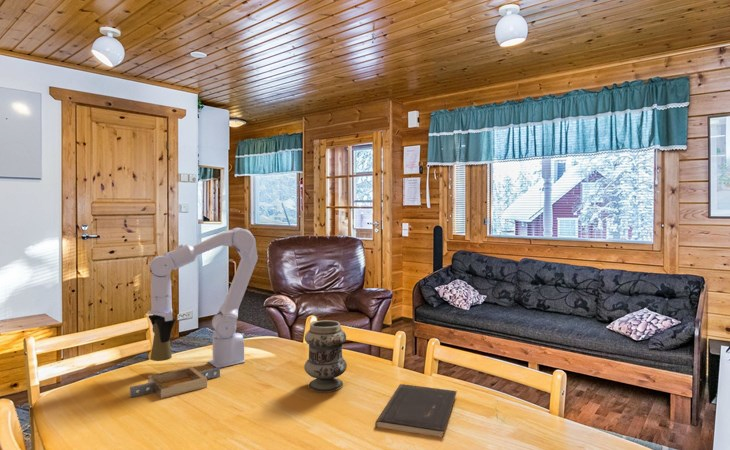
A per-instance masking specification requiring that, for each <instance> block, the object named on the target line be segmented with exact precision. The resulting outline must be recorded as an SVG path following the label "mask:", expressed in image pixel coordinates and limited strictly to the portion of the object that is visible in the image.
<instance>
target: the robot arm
mask: <svg viewBox="0 0 730 450" xmlns="http://www.w3.org/2000/svg"><path fill="white" fill-rule="evenodd" d="M256 241H257V240H256V238H255V236H254V235H253V233H252V232H251V231H250V230H249V229H246V228H242V227H235V228H234V227H233V228H232V229H227V230H225V231H222V232H219V233H218V234H216V235H213V236H211V237H209V238H206V239H205V240H203V241H200V242H199V243H196V244H194V245H189V244H183V243H182V244H179V245H178V247H177V248H175V249H173V250H170V251H168V252H167V251H164V252H163V253H162V254H163V255H157V256H154V258H152V260H151V261H150V264H149V269H150V271H151V274H150V279H151V281H150V300H151V301H150V303H151V304H150V306H151V309H150V310H147V315H148V316H147V317H148V319H149V321H150V323H151V325H152V327H153V325H154V324H155V323H156V324H157V326H158V329H159V334H160V340H161V342H162V343H163V342H168V341H169V339H170V338H171V335H172V334H171V333H172V329H173V327H174V325H175V324H176V318H175V317H173V308H172V307H173V305H172V304H173V303H172V302H173V301H172V299H173V298H172V297H173V296H172V279H171V273H172V270H174V271H175V270H178V269H181V268H182V267H184V266H186V265H189V264H190V263H191V264H192V263H193V262H195V261H196V258H197V256H199V255H203V254H204V253H206V252H209V251H211V250H213V249H216V248H218V247H221V246H222V247H223V246H225V247H234V249H236V252H237V253H238V255H239V257H240V260H239V263H238V266H237V269H236V271H235V274H234V275H233V279H232V281H231V284H230V286H229V289H228V291H227V294H226V297H225V299H224V302H223V304H222V305H221V306H220V308H219V310H218V312H216V314H215V315H214V316H213V317H212V319H211V325H212V328H213V329H214V331H213V333H212V335H211V336H212V358H211V359H209V360H208V363H210V365H212V366H213V367H214V368H217V367H219V368H220V369H221V368H225V367H228V366H233V365H238V364H242V363H245V362H246V360H245V341H244V340H245V339H244V336H243V335H242V334H241V333H239V332H237V333H236V331H237V327H238V326H237V321H238V319H239V308H240V306H241V303H242V301H243V298H244V296H245V293H246V291H247V287H248V286H249V282H250V280H251V277H252V274H253V272H254V270H255V267H256V264H257V262H258V259H259V257H258V250H257V245H256V244H257V243H256Z"/></svg>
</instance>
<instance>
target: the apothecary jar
mask: <svg viewBox="0 0 730 450" xmlns="http://www.w3.org/2000/svg"><path fill="white" fill-rule="evenodd" d="M346 339H347V333H346V332H345V330H343V329H342V327H341V323H340V322H339V321H338V320H337V321H336V320H327V319H325V320H324V319H323V320H317V321H313V322H311V323H310V327H309V329H308V331H306V333H305V334H304V341H305V343H306V344H307V345H308V359H307V360H306V361H305V362H304V365H303V366H304V367H303V368H304V371H305V373H306V374H307V375H308V376H310V377H311V378H314V379H312V380H311V381H310V382H309V383H308V388H309V390H311V391H312V392H316V393H331V392H335V391H338V390H340V389H342V388H343V387H344V382H343V381H342V380H341V379H339V378H338V377H340V376H341V375H343V374H344V373H345V372H346V370H347V367H348V366H347V365H348V364H347V361H346V359H345V358H343V344H344V343H345V342H346Z"/></svg>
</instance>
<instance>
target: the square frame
mask: <svg viewBox="0 0 730 450" xmlns="http://www.w3.org/2000/svg"><path fill="white" fill-rule="evenodd" d="M219 377H221V368H219V367H217V368H216V367H214V368H208V369H204V370H199V371H198V370H197V369H196V368H194V367H193V366H187V367H183V368H179V369H174V370H169V371H164V372H160V373H155V374H151V375H147V383H142V384H137V385H132V386H130V387H129V397H130V398H136V397H139V396H143V395H148V394H152V393H153V394H154V393H155V394H156V395H157V396H158V397H159V398H160V399H161V400H163V399H165V398H169V397H173V396H178V395H182V394H185V393H190V392H195V391H198V390H202V389H205V388H208V380H211V379H214V378H215V379H216V378H219ZM185 378H190V379H191V380H187V381H184V382H179V383H175V384H170V385H167V386H164V385H163V383H168V382H173V381H175V380H180V379H185Z"/></svg>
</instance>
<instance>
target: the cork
mask: <svg viewBox="0 0 730 450" xmlns="http://www.w3.org/2000/svg"><path fill="white" fill-rule="evenodd" d="M152 333H153V339H152V340H153V341H152V346H151V351H150V352H151V353H150V360H151V361H154V362H163V361H168V360H170V359H171V358H172V357H173V356H172V349H171V341H170V339H169V341H168V342H163V343H162V342H161V340H160V334H159V329H158V326H157V324H156V323H155V324H154V325H153V326H152Z"/></svg>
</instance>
